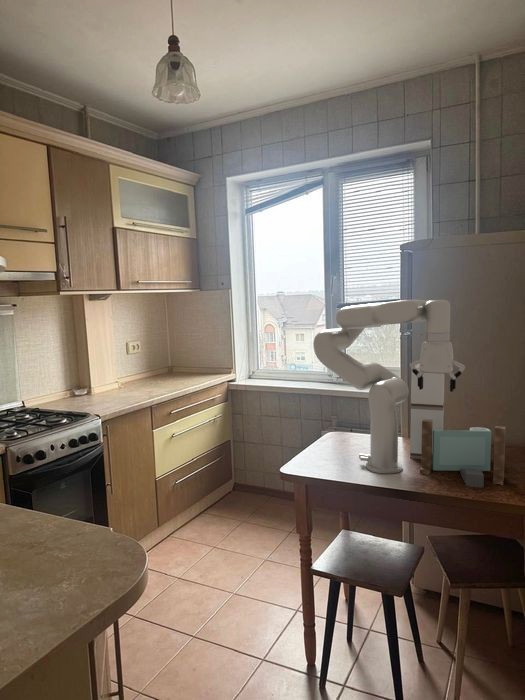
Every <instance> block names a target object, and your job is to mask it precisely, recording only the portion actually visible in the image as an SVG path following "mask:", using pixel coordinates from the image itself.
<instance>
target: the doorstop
mask: <svg viewBox="0 0 525 700" xmlns="http://www.w3.org/2000/svg"><path fill="white" fill-rule="evenodd" d="M459 473H460V474H459V475H460V476H461V477H462V479H463V481H464V485H465V486H466V487H467V488H468V486H469V487H470V488H473V487H474V488H482V487H483V488H484V484H485V483H484V482H485V480H484V479H485V474H484V473H483V471H481V470H470V469H460V471H459Z"/></svg>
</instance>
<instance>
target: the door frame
mask: <svg viewBox="0 0 525 700" xmlns="http://www.w3.org/2000/svg"><path fill="white" fill-rule="evenodd" d="M432 421H433V420H427V419H423V420H422V453H421V459H420V460H421V461H420V462H421V463H420V465H421V466H420V468H419V474H420V475H421V474H422V475H426V476H427V475H430V474H431V472H432V471H433V470H432ZM493 443H494V444H493V446H494V447H493V448H494V449H493V451H494V452H493V477H492V485H496V484H501V485H500V486H504V482H503V481H504V480H505V452H506V451H505V449H506V426H501V425H500V426H499V425H495V427H494V441H493Z"/></svg>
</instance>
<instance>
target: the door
mask: <svg viewBox="0 0 525 700" xmlns="http://www.w3.org/2000/svg"><path fill="white" fill-rule="evenodd" d="M491 447H492V430H490V429H489V430H470V429H469V430H466V429H465V430H463V429H461V430H459V429H458V430H457V429H454V430H453V429H452V430H451V429H447V430H444V429H443V430H433V455H432V470H431V471H457V472H460V469H470V470H481V471H482V472H485V471H486V472H487V471H488V472H490V471H491V458H492V457H491V455H492V454H491V452H492V448H491Z"/></svg>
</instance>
